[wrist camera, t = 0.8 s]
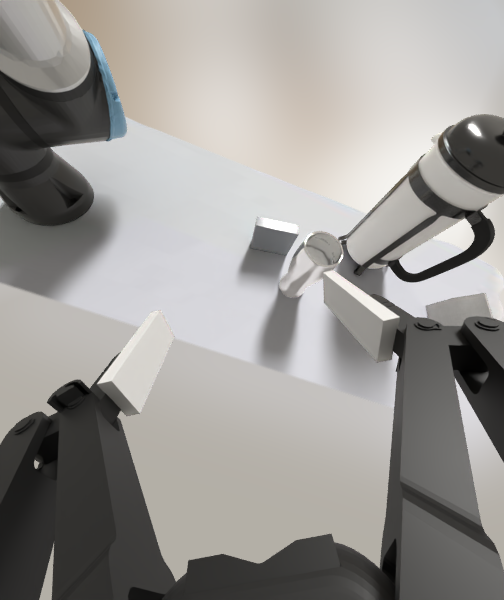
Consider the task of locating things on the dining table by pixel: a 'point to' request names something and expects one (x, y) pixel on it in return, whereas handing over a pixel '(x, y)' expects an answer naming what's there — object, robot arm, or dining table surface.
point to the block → (273, 236)
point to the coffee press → (436, 200)
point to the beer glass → (311, 263)
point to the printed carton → (459, 309)
